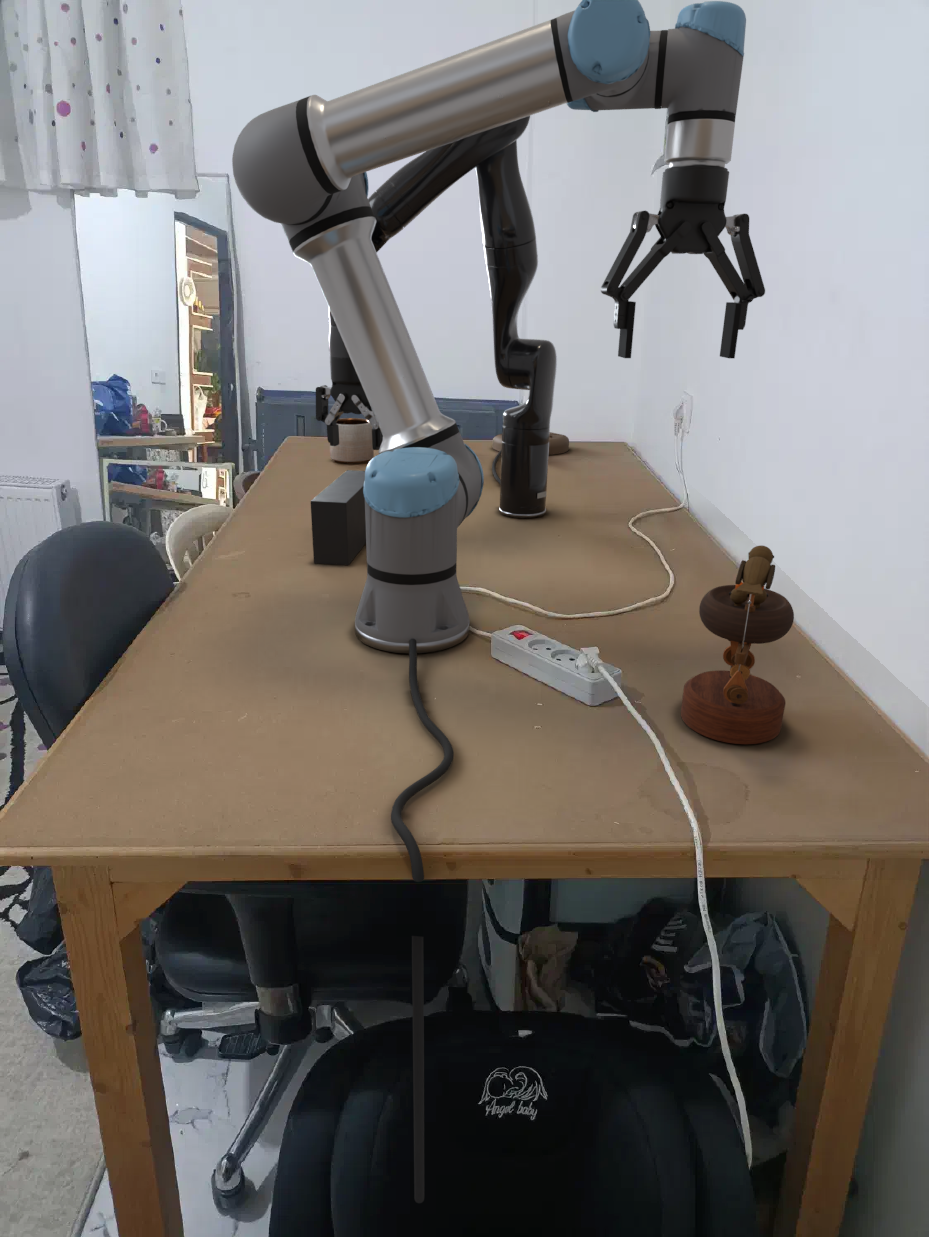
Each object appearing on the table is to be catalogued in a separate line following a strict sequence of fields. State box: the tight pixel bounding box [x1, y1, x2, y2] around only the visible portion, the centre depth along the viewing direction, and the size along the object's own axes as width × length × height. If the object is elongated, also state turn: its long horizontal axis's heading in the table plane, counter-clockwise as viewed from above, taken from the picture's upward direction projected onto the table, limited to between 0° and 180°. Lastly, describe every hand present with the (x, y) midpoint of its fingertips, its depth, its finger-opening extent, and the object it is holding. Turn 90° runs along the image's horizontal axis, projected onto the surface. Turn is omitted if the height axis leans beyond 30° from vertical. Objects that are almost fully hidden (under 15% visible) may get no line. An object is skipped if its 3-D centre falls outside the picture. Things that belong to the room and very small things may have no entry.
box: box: [310, 469, 366, 566], centre depth 147 cm, size 23×6×10 cm, turn 173°
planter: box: [329, 417, 375, 464], centre depth 212 cm, size 11×11×10 cm
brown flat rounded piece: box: [491, 431, 570, 456], centre depth 224 cm, size 21×28×4 cm
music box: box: [680, 545, 795, 745], centre depth 89 cm, size 15×11×20 cm
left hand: (676, 357), depth 106 cm, fingers open, 13 cm apart
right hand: (355, 447), depth 152 cm, fingers open, 8 cm apart
